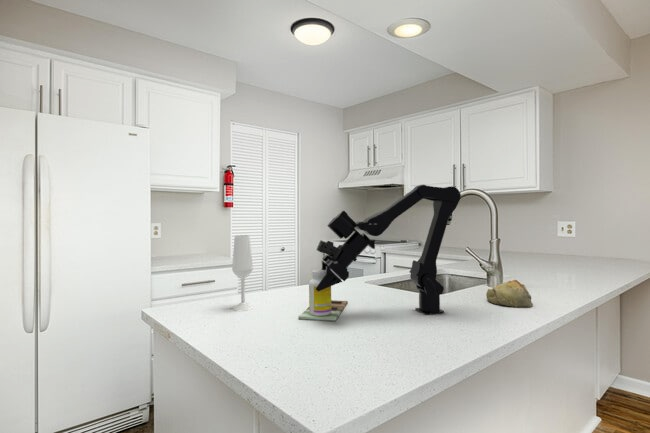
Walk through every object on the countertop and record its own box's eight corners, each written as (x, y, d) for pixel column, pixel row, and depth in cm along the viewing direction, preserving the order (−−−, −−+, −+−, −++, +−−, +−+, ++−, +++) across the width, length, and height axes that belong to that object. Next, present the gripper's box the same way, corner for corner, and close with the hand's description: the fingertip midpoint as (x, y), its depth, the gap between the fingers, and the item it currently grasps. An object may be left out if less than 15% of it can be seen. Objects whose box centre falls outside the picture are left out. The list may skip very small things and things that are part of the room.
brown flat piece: (316, 302, 129) (316, 299, 129) (347, 303, 126) (347, 300, 126) (298, 319, 108) (298, 316, 108) (335, 321, 105) (335, 318, 105)
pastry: (541, 306, 119) (541, 281, 119) (514, 310, 114) (514, 285, 114) (504, 297, 132) (504, 275, 132) (478, 301, 127) (478, 278, 127)
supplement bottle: (336, 314, 110) (335, 271, 110) (318, 318, 106) (317, 273, 106) (322, 309, 115) (322, 268, 115) (305, 313, 111) (304, 270, 111)
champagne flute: (228, 310, 119) (227, 236, 119) (238, 305, 126) (237, 234, 126) (248, 311, 118) (246, 236, 118) (256, 305, 124) (255, 234, 124)
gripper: (328, 229, 120) (295, 264, 119) (336, 232, 101) (297, 273, 100) (352, 253, 121) (319, 288, 120) (365, 260, 102) (326, 301, 101)
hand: (315, 287), depth 110 cm, fingers open, 9 cm apart
